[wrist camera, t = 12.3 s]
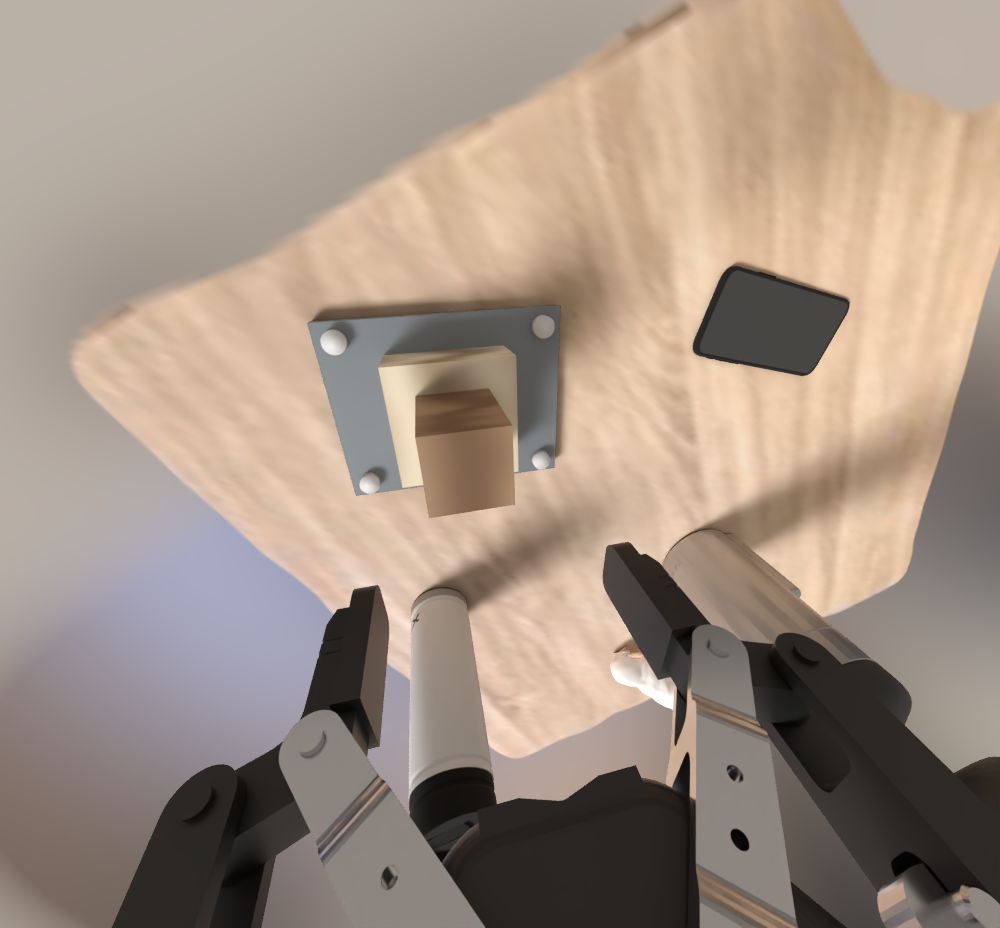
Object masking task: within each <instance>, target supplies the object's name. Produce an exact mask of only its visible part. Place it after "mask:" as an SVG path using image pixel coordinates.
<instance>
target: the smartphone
mask: <svg viewBox="0 0 1000 928" xmlns="http://www.w3.org/2000/svg"><path fill="white" fill-rule="evenodd" d="M848 309H849V302H848V300H846V299H844V298H841V297H838V296H834V295H831V294H828V293H824V292H821V291H818V290H814V289H811V288H808V287H805V286H801V285H798V284H795V283H791V282H788V281H785V280H781V279H778V278H776V277H775V276H771V275H768V274H765V273H761V272H755V271H752V270H748V269H745V268H742V267H738V266H734V267H730V268H729V269H727V270H726V271H725V272H724V273H723V275H722V276H721V278H720V280H719V282H718V285H717V287H716V289H715V292H714V294H713V297H712V299H711V301H710V304H709V306H708V309H707V311H706V313H705V316H704V318H703V321H702V323H701V325H700V328H699V330H698V332H697V335H696V337H695V340H694V343H693V351H694V353H695V354H696V355H698V356H703V357H706V358H709V359H715V360H719V361H724V362H729V363H734V364H743V365H748V366H753V367H759V368H764V369H769V370H774V371H779V372H784V373H789V374H794V375H800V376H805V375H808V374H810V373H811V372H812V371H813V370H814V369H815V367H816V366H817V364H818V363H819V361H820V359H821V357H822V356H823V354H824V352H825V351H826V349H827V347H828V345H829V344H830V342H831V340H832V338H833V337H834V335H835V333H836V332H837V330H838V328H839V326H840V325H841V323H842V321H843V319H844V318H845V316H846V314H847V312H848Z"/></svg>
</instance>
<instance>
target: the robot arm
mask: <svg viewBox="0 0 1000 928" xmlns="http://www.w3.org/2000/svg"><path fill="white" fill-rule="evenodd" d="M603 584H604V587H605V590H606V593H607V594H608V596H609V598H610V599H611V601H612V603H613V605H614V606H615V608H616V610H617V611H618V613H619V615H620V616H621V618H622V620H623V621H624V623H625V625H626V627H627V628H628V630H629V632H630V633H631V635H632V637H633V638H634V640H635V642H636V643H637V645H638V647H639V649H640V650H641V652H642V654H643V655H644V657H645V659H646V660H647V662H648V664H649V665H650V667H651V669H652V671H653V672H654V674H655V676H656V677H657V679H658V680H660V679H664V678H669V677H671V679H672V680H673V682H674V684H675V689H674V702H673V722H672V738H671V739H672V740H671V753H670V760H669V766H668V771H667V778H666V784H663V783H661V782H658V781H655V780H651V779H646V778H641V776H640V774H639V772H638V769H637V767H636V765H635V766H632V767H628V768H625V769H621V770H617V771H614V772H610V773H606V774H603V775H599V776H598V777H596V778H595V779H594V780H592V781H591V782H589V783H588V784H587V785H586V786H584V787H583V788H581V789H580V790H578V791H577V792H575V793H574V794H573V795H571V796H570V797H569V798H567V799H565V800H563V801H552V800H551V801H550V800H536V799H521V798H518V799H514V800H511V801H507V802H503V803H500V804H496V805H493V806H489V807H486V808H482V809H479V810H477V812H478V821H479V823H477V824H476V825H474V826H473V827H472V828H470V829H469V830H468V831H467V832H466V833H465V834H464V835H463V836H461V837H460V839H459V840H458V841H457V842H456V843H455V845H454V846H453V847H452V848H451V850H450V851H449V853H448V854H447V856H446V857H445V859H444V860H443V862H442V863H441V862H440V860H439V859H438V857H437V856H436V854H435V853H434V851H433V850H432V848H431V847H430V845H429V844H428V842H427V841H426V839H425V838H424V837H423V835H422V834H421V832H420V831H419V829H418V828H417V826H416V825H415V823H414V822H413V820H412V819H411V817H410V816H409V815H408V813H407V812H406V810H405V809H404V807H403V806H402V804H401V803H400V801H399V800H398V799H397V797H396V795H395V794H394V792H393V791H392V790H391V788H390V787H389V785H388V784H387V783H386V782H385V781H384V780H382V779H381V777H380V776H379V775H378V773H377V772H376V770H375V769H374V767H373V766H372V764H371V763H370V761H369V760H368V758H367V753H368V749H371V748H375V747H379V746H380V734H381V723H382V712H383V699H384V688H385V677H386V665H387V653H388V642H389V621H388V616H387V612H386V608H385V605H384V601H383V598H382V594H381V591H380V588H379V586H378V585H376V586H370V587H364V588H359V589H354V590H353V593H352V597H351V602H350V607H348V608H342V609H337V611H336V612H335V614H334V615H333V617H332V618H331V619H330V621H329V623H328V624H327V626H326V630H325V634H324V638H323V644H322V645H321V649H320V652H319V658H318V660H317V664H316V667H315V671H314V675H313V679H312V682H311V686H310V690H309V694H308V697H307V701H306V705H305V709H304V712H303V715H302V717H301V719H300V721H299V722H298V723H296V724H295V725H294V726H293V728H292V729H291V730H290V731H289V733H288V734H287V735H286V737H285V739H284V741H283V742H282V743H281V744H279V745H278V746H276V747H275V748H274V749H272V750H270V751H269V752H267V753H265V754H264V755H262V756H260V757H258V758H256V759H255V760H253V761H251V762H249V763H247V764H246V765H244V766H242V767H240V768H238V769H237V770H235V771H234V769H233V768H232V767H230V766H228V765H224V764H223V765H214V766H211V767H208V768H206V769H204V770H202V771H200V772H199V773H197V774H195V775H194V776H193V777H191V778H190V779H189V780H188V781H186V782H185V783H184V784H183V785H182V786H181V787H180V788H179V789H178V790H177V791H176V793H175V794H174V795H173V796H172V798H171V799H170V800H169V802H168V803H167V805H166V806H165V808H164V810H163V812H162V814H161V816H160V818H159V820H158V823H157V825H156V827H155V829H154V832H153V834H152V836H151V839H150V841H149V843H148V846H147V848H146V850H145V852H144V855H143V857H142V859H141V862H140V864H139V866H138V869H137V871H136V873H135V875H134V878H133V880H132V882H131V885H130V888H129V890H128V892H127V894H126V896H125V899H124V901H123V903H122V906H121V908H120V910H119V912H118V915H117V917H116V920H115V922H114V924H113V926H112V928H261V926H262V921H263V916H264V911H265V906H266V902H267V897H268V891H269V887H270V882H271V877H272V872H273V867H274V862H275V858H276V855H277V854H279V853H280V852H282V851H283V850H285V849H286V848H288V847H289V846H291V845H292V844H294V843H295V842H297V841H298V840H300V839H301V838H303V837H304V836H305V835H307V834H309V833H310V832H311V834H312V836H313V838H314V840H315V842H316V845H317V847H318V853H319V857H320V859H321V862H322V864H323V866H324V869H325V871H326V873H327V875H328V877H329V879H330V882H331V883H332V885H333V888H334V890H335V892H336V894H337V896H338V899H339V901H340V903H341V905H342V907H343V909H344V911H345V913H346V916H347V918H348V920H349V922H350V924H351V926H352V928H847V927H845V926H844V925H843V924H841V923H840V922H839V921H838V920H837V919H836V918H834V917H833V916H832V915H831V914H829V913H828V912H827V911H826V910H825V909H823V908H822V907H821V906H820V905H819V904H817V903H816V902H815V901H814V900H813V899H811V898H810V897H809V896H808V895H806V894H805V893H804V892H803V891H802V890H800V889H799V888H798V887H797V886H795V885H794V884H793V883H792V882H791V881H790V876H789V869H788V863H787V856H786V850H785V843H784V836H783V829H782V823H781V816H780V809H779V803H778V796H777V789H776V783H775V776H774V770H773V763H772V756H771V749H770V743H769V738H770V739H771V741H772V742H773V743H774V745H775V746H776V748H777V749H778V750H779V752H780V753H781V755H782V756H783V758H784V759H785V761H786V762H787V763H788V765H789V766H790V767H791V769H792V771H793V772H794V773H795V775H796V776H797V778H798V779H799V781H800V782H801V783H802V785H803V786H804V788H805V789H806V790H807V792H808V793H809V795H810V796H811V798H812V799H813V800H814V802H815V803H816V805H817V806H818V808H819V809H820V810H821V812H822V813H823V815H824V816H825V817H826V819H827V820H828V822H829V823H830V825H831V826H832V828H833V829H834V830H835V832H836V833H837V835H838V836H839V837H840V839H841V840H842V842H843V843H844V845H845V846H846V847H847V849H848V850H849V852H850V853H851V855H852V856H853V857H854V859H855V860H856V862H857V863H858V864H859V866H860V867H861V869H862V870H863V872H864V873H865V875H866V876H867V877H868V878H869V880H870V882H871V883H872V884H873V886H874V887H875V889H876V890H877V892H878V907H879V912H880V915H881V918H882V921H883V923H884V925H885V928H1000V757H988V758H985V759H982V760H979V761H977V762H975V763H972V764H970V765H968V766H966V767H964V768H963V769H961V770H959V771H957V772H955V773H953V772H952V771H951V770H950V769H949V768H948V767H947V766H946V765H944V764H943V763H942V762H941V761H940V760H939V759H938V758H937V757H936V756H935V755H934V754H933V753H932V752H931V751H930V750H929V749H928V748H927V747H926V746H925V745H924V744H923V743H922V742H921V741H920V740H919V739H918V738H917V737H916V736H915V735H914V734H913V733H912V732H911V731H910V730H909V729H908V728H907V727H905V723H906V720H907V718H908V716H909V713H910V710H911V703H912V702H911V697H910V695H909V692H908V691H907V690H906V689H905V688H904V686H903V685H902V684H901V683H900V682H899V681H898V680H897V679H895V678H894V677H893V676H892V675H891V674H890V673H888V672H887V671H886V670H885V669H883V668H882V667H881V666H880V665H879V664H878V663H876V662H875V661H873V660H872V659H871V658H870V657H869V656H868V655H866V654H865V653H864V652H863V651H862V650H860V649H859V648H858V647H857V646H856V645H855V644H853V643H852V642H851V641H850V640H849V639H848V638H846V637H845V636H844V635H843V634H842V633H840V632H839V631H838V630H837V629H835V628H834V627H833V626H832V625H831V624H829V623H828V622H827V621H826V620H825V619H824V618H822V617H821V616H820V615H819V614H818V613H817V612H815V611H814V610H813V609H812V608H811V607H809V606H808V605H807V604H806V603H805V602H804V601H802V600H801V599H800V598H799V597H800V596H801V592H800V590H799V589H798V588H797V587H796V586H795V585H794V584H793V583H791V582H790V581H789V580H788V579H787V578H785V577H784V576H783V575H782V574H780V573H779V572H778V571H777V570H776V569H774V568H773V567H772V566H771V565H769V564H768V563H767V562H766V561H765V560H763V559H762V558H761V557H760V556H759V555H757V554H756V553H755V552H754V551H752V550H751V549H750V548H749V547H748V546H746V545H745V544H744V543H743V542H741V541H740V540H739V539H738V538H737V537H735V536H734V535H733V534H723V533H722V532H720V531H717V530H702V531H698V532H696V533H693V534H691V535H689V536H687V537H685V538H684V539H683V540H681V541H680V542H679V543H677V544H676V545H675V546H674V547H673V548H672V550H671V551H670V552H669V553H668V555H667V557H666V558H665V561H664V564H663V566H662V565H661V564H660V563H659V562H657V561H656V560H654V559H653V558H651V557H650V556H648V555H647V554H643V555H640V554H639V553H638V552H637V550H636V549H635V548H634V547H633V545H632V544H631V543H629V542H625V543H619V544H614V545H608V546H607V548H606V554H605V562H604V569H603ZM757 721H758V722H759V724H760V725H761V726H762V727H761V726H759V725H758V723H757ZM768 736H769V738H768Z"/></svg>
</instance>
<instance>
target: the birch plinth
mask: <svg viewBox="0 0 1000 928" xmlns="http://www.w3.org/2000/svg"><path fill="white" fill-rule="evenodd" d="M378 370H379V375H380V380H381V384H382V389H383V394H384V399H385V404H386V409H387V414H388V419H389V424H390V429H391V433H392V438H393V443H394V448H395V453H396V458H397V463H398V468H399V473H400V477H401V482H402V487H403V488H406V487H413V486H420V485H423V480H422V474H421V468H420V463H419V457H418V451H417V445H416V440H415V396H420V395H429V394H439V393H448V392H458V391H467V390H477V389H486V388H489V389H490V391H491V392H492V394H493V396H494V397H495V399H496V400H497V402H498V403H499V405H500V407H501V408H502V410H503V411H504V413H505V414H506V416H507V417H508V419H509V421H510V422H511V424H512V425H513V454H514V472H518V420H517V367H516V355H515V354H514V353H512V352H511V351H510V350H509V349H507V348H506V347H505V346H504V345H503V346H490V347H478V348H466V349H454V350H442V351H429V352H417V353H405V354H393V355H383V357H382V359H381V362H380V364H379V367H378Z"/></svg>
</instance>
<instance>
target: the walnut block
mask: <svg viewBox="0 0 1000 928" xmlns="http://www.w3.org/2000/svg"><path fill="white" fill-rule="evenodd" d="M415 440H416V445H417V451H418V457H419V463H420V468H421V474H422V480H423V485H424V491H425V497H426V502H427V508H428V514H429V518H433V517H439V516H446V515H452V514H458V513H464V512H471V511H477V510H483V509H490V508H496V507H502V506H508V505H515V487H514V454H513V425H512V424H511V422H510V421H509V419H508V417H507V416H506V414H505V413H504V411H503V410H502V408H501V407H500V405H499V403H498V402H497V400H496V399H495V397H494V396H493V394H492V392H491V391H490V389H489V388H486V389H477V390H467V391H458V392H448V393H439V394H429V395H420V396H415Z"/></svg>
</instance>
